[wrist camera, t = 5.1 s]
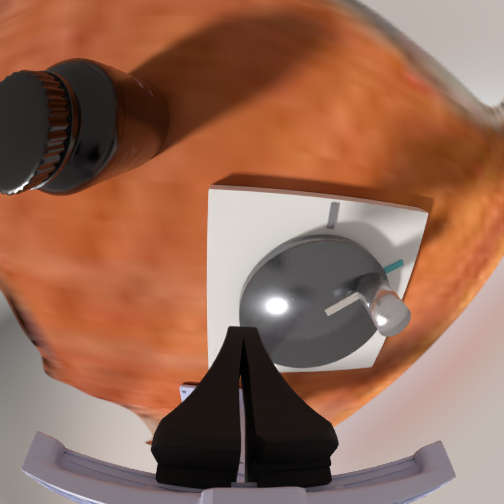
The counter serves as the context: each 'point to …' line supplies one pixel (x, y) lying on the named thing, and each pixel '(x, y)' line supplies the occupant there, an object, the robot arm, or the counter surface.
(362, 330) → the dial
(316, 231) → the dial plate
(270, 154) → the counter surface
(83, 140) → the supplement bottle
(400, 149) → the counter surface
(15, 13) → the counter surface
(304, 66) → the counter surface
